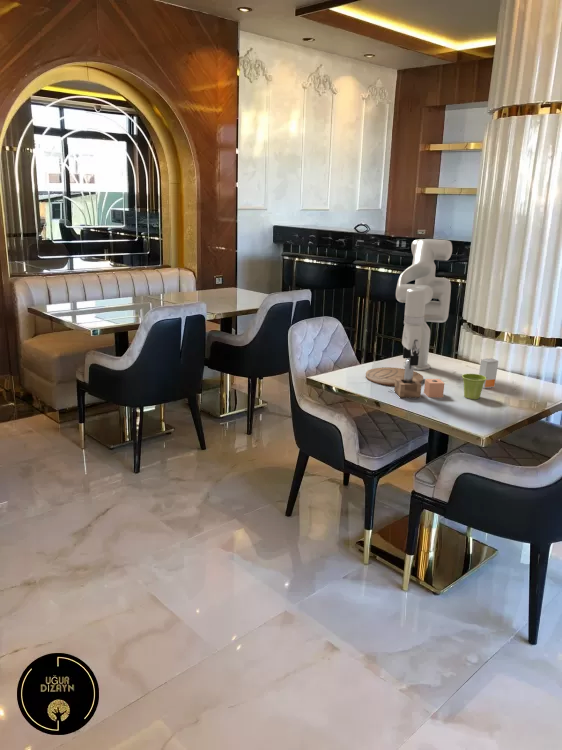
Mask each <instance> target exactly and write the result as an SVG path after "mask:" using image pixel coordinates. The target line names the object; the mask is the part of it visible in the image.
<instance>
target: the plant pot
mask: <svg viewBox="0 0 562 750" xmlns="http://www.w3.org/2000/svg"><path fill="white" fill-rule="evenodd" d="M461 378H462V381H463V397H465V399H470V400H479V399H480V398H481V394H482V390H483V388H482V387H483V384H484V382H485V380H486V377H485V376H482V375H479V373H478V374H477V373H463V374H461Z"/></svg>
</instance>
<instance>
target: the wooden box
mask: <svg viewBox="0 0 562 750" xmlns="http://www.w3.org/2000/svg"><path fill="white" fill-rule="evenodd" d="M393 388H394V390H393V392H394V391H395V392H394V393H395V395H396V394H397V395H398V396H399V397H400V398H399V397H398V396H397V395H396V396H397V397H398V398H399V399H421V397H422V396H421V395H422V394H421V393H422V383H421V384H420V383H419V382H418V381H417V380H416V379H415V378H413V381H412V383H404V378H395V387H393Z"/></svg>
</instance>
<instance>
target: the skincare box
mask: <svg viewBox="0 0 562 750" xmlns="http://www.w3.org/2000/svg"><path fill="white" fill-rule="evenodd" d="M498 365H499V360H498V359H495V358H493V357H492V358H484V359H483V358H481V359H480V365H479V372H478V374H479V375H482V376H485V377H486V380H485V382H484V384H483V387H482V389H490V388H491V387H494V388H495V385H496V380H497V372H498ZM491 389H492V388H491Z"/></svg>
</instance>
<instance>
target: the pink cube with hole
mask: <svg viewBox="0 0 562 750" xmlns="http://www.w3.org/2000/svg"><path fill="white" fill-rule="evenodd" d="M444 391H445V382H444V381H442V380H441V379H440V378H425V379H424V388H423V394H424V395H425V396H426V397H428V398H444Z"/></svg>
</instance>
